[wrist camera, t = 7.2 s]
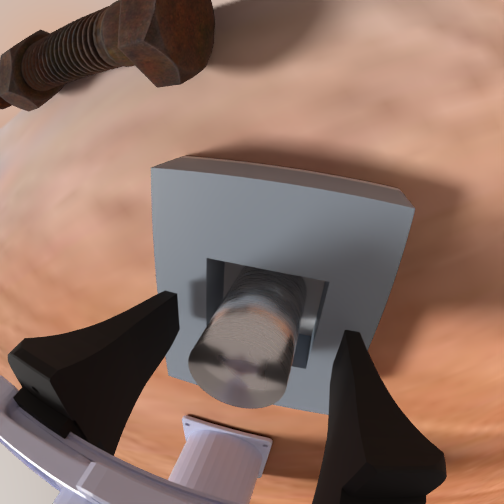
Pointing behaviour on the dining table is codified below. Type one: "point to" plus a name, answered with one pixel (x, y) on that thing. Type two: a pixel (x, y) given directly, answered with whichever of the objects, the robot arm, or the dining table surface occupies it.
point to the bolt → (110, 48)
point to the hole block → (277, 253)
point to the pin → (251, 339)
